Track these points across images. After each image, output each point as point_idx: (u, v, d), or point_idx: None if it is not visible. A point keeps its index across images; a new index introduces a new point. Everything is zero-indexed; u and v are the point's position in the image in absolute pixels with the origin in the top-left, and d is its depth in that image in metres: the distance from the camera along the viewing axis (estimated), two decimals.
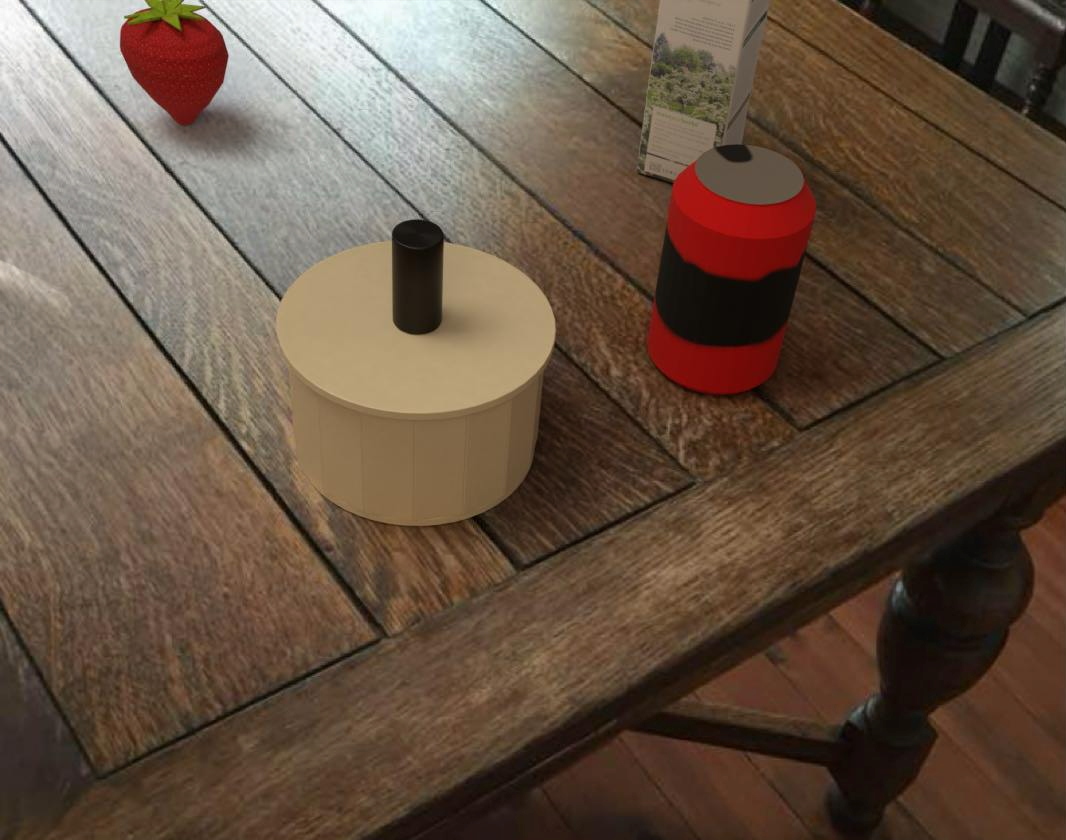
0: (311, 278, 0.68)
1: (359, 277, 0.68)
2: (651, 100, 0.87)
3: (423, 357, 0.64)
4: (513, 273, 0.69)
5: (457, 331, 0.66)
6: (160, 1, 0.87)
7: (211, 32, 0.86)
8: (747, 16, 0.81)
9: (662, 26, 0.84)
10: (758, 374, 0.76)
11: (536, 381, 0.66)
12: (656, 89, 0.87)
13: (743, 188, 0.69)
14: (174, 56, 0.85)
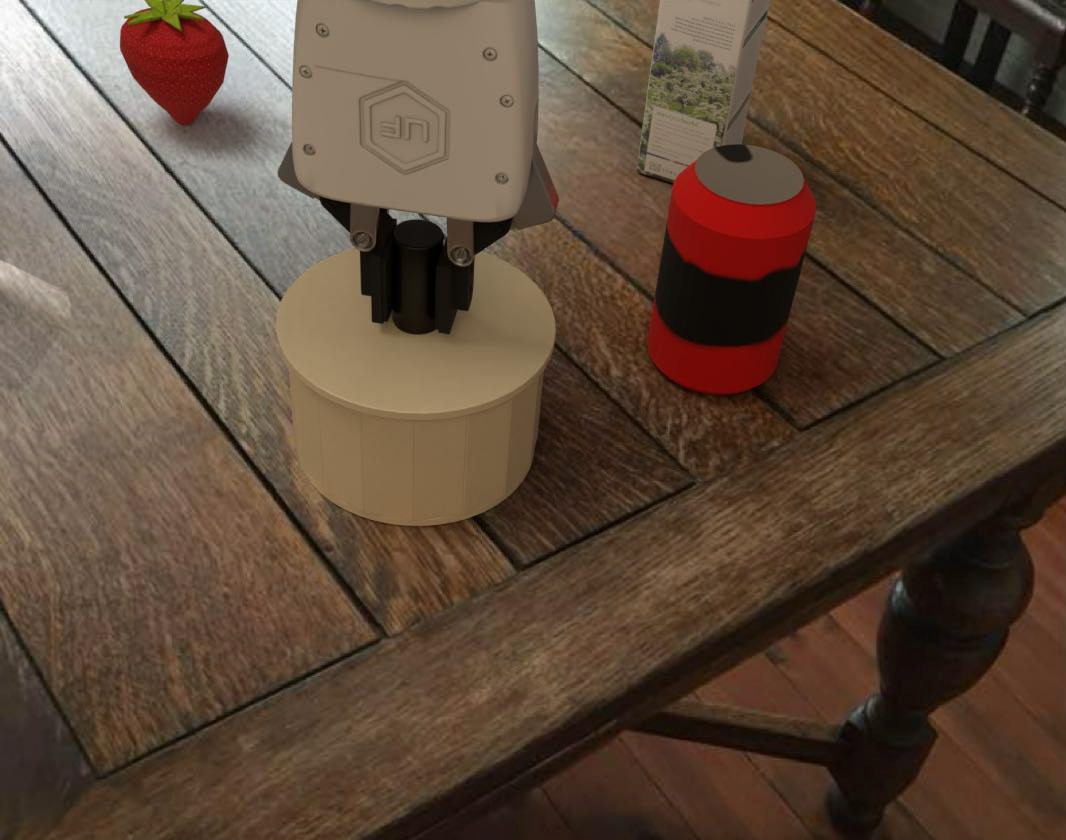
0: (311, 278, 0.68)
1: (359, 277, 0.68)
2: (651, 100, 0.87)
3: (423, 357, 0.64)
4: (513, 273, 0.69)
5: (457, 331, 0.66)
6: (160, 1, 0.87)
7: (211, 32, 0.86)
8: (747, 16, 0.81)
9: (662, 26, 0.84)
10: (758, 374, 0.76)
11: (536, 381, 0.66)
12: (656, 89, 0.87)
13: (743, 187, 0.69)
14: (174, 56, 0.85)
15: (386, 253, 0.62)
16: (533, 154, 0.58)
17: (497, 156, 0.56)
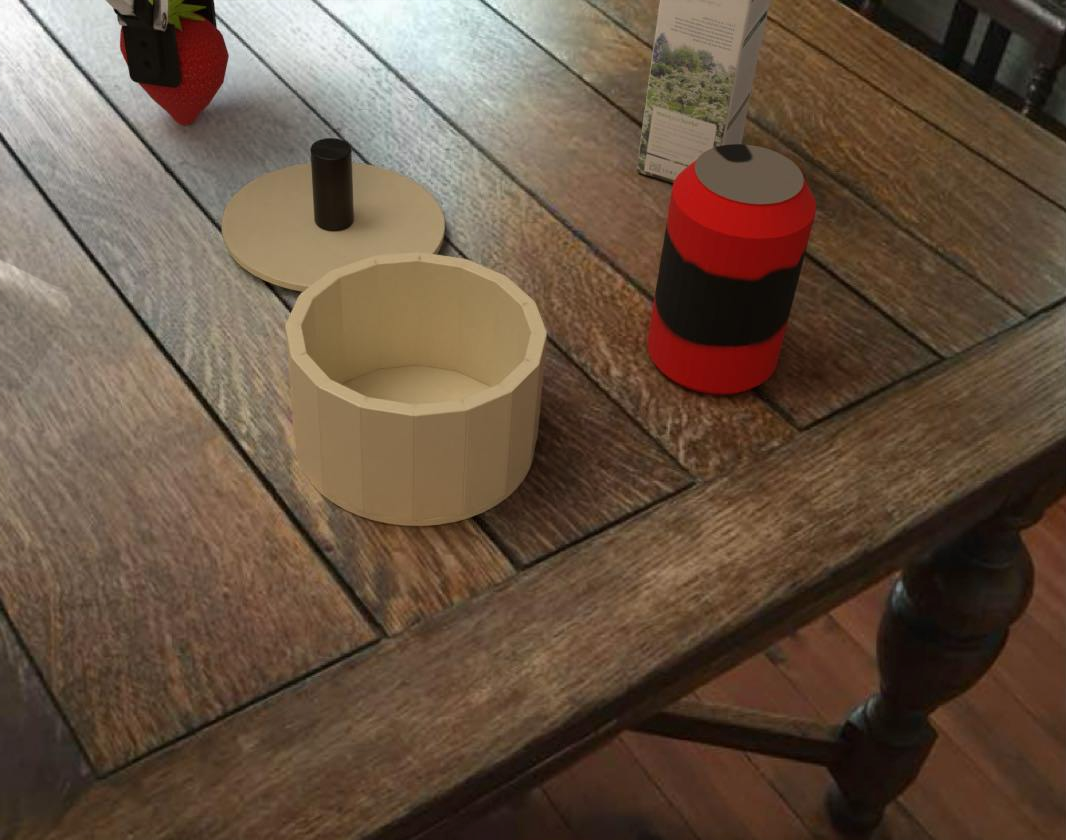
0: (251, 189, 0.85)
1: (289, 189, 0.86)
2: (651, 100, 0.87)
3: (337, 247, 0.82)
4: (414, 186, 0.87)
5: (366, 229, 0.83)
6: None
7: (211, 32, 0.86)
8: (747, 16, 0.81)
9: (662, 26, 0.84)
10: (758, 374, 0.76)
11: (536, 381, 0.66)
12: (656, 89, 0.87)
13: (743, 187, 0.69)
14: None
15: None
16: None
17: None
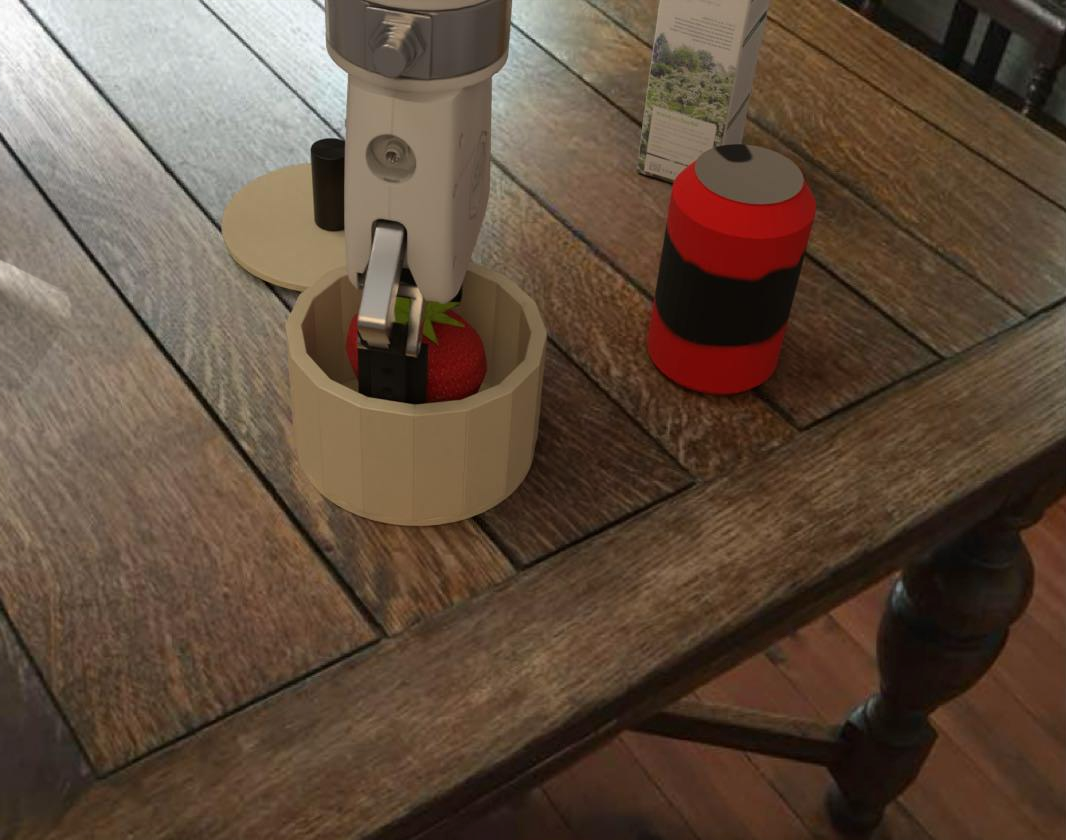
0: (251, 189, 0.85)
1: (289, 189, 0.86)
2: (651, 100, 0.87)
3: (337, 247, 0.82)
4: None
5: None
6: None
7: (470, 338, 0.66)
8: (747, 16, 0.81)
9: (662, 26, 0.84)
10: (758, 374, 0.76)
11: (536, 381, 0.66)
12: (655, 89, 0.87)
13: (743, 187, 0.69)
14: None
15: None
16: None
17: (490, 144, 0.63)
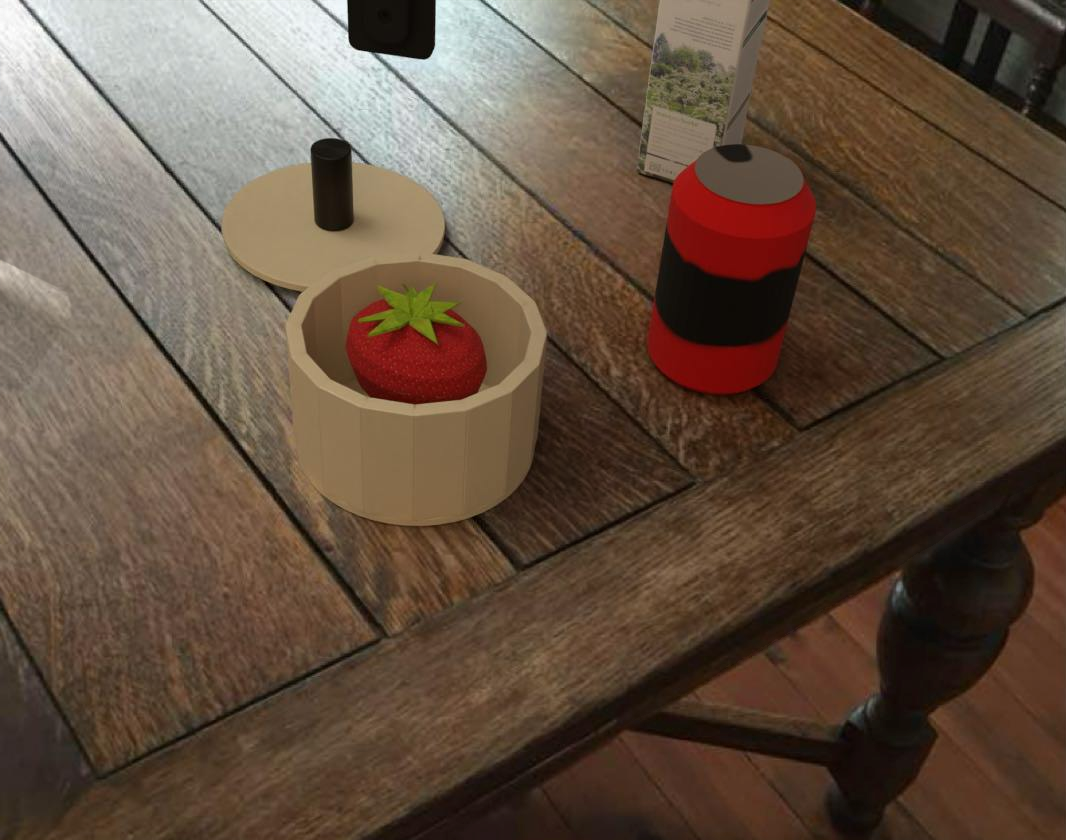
0: (251, 189, 0.85)
1: (289, 189, 0.86)
2: (651, 100, 0.87)
3: (337, 247, 0.82)
4: (414, 186, 0.87)
5: (366, 229, 0.83)
6: (403, 297, 0.67)
7: (470, 338, 0.66)
8: (747, 16, 0.81)
9: (662, 26, 0.84)
10: (758, 374, 0.76)
11: (536, 381, 0.66)
12: (655, 90, 0.87)
13: (743, 187, 0.69)
14: (427, 375, 0.65)
15: None
16: None
17: None
